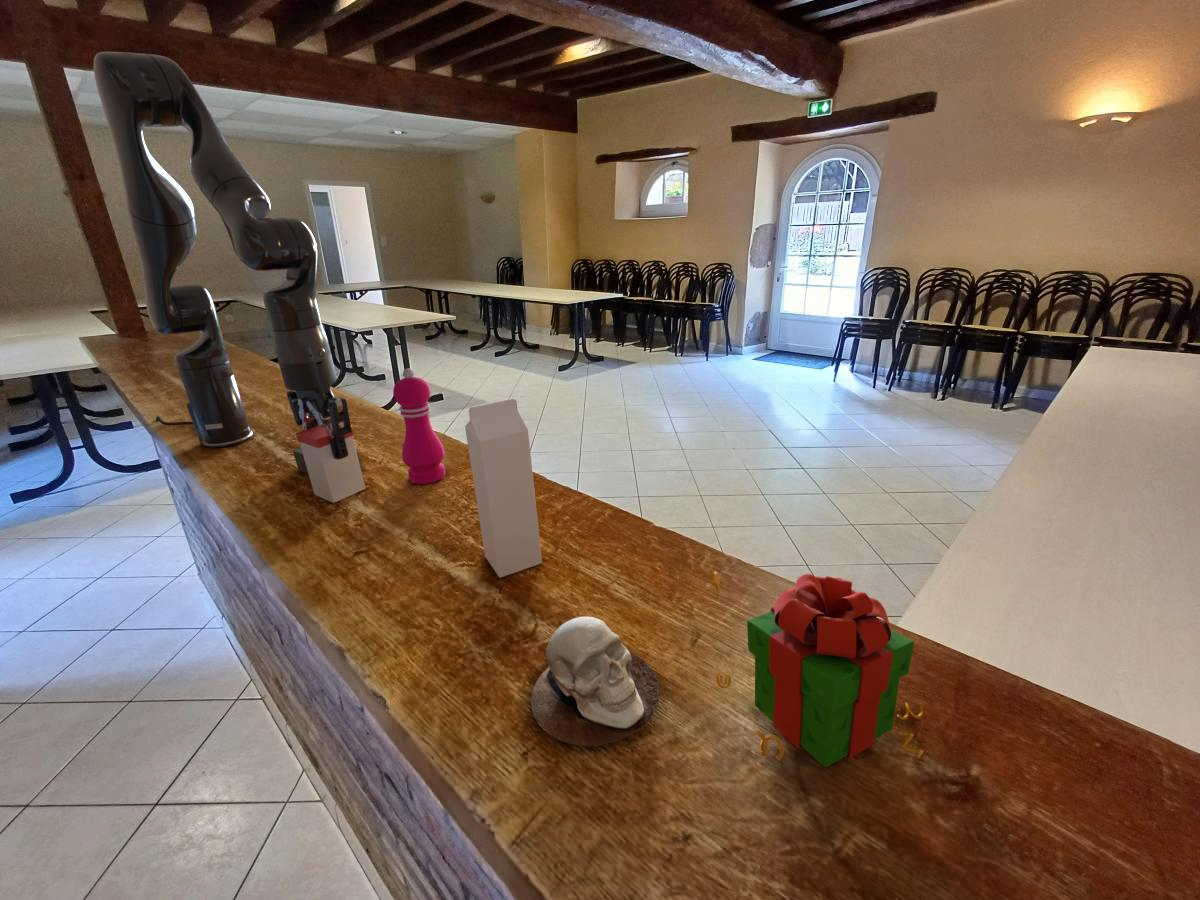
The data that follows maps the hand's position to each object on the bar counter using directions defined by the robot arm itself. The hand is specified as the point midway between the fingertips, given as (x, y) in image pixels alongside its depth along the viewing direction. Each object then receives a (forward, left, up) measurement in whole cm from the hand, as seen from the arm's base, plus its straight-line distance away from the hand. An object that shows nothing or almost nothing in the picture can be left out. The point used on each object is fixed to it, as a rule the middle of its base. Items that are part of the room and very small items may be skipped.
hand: (330, 453), depth 93 cm
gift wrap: (+70, -39, -7) cm, 80 cm away
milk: (+37, -17, -7) cm, 41 cm away
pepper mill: (+13, +7, -7) cm, 17 cm away
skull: (+52, -38, -7) cm, 65 cm away
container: (+2, +4, -6) cm, 7 cm away
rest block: (-8, +8, -7) cm, 13 cm away
